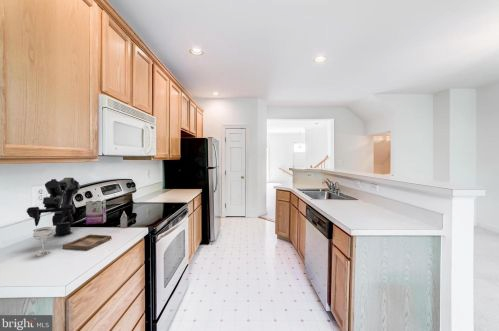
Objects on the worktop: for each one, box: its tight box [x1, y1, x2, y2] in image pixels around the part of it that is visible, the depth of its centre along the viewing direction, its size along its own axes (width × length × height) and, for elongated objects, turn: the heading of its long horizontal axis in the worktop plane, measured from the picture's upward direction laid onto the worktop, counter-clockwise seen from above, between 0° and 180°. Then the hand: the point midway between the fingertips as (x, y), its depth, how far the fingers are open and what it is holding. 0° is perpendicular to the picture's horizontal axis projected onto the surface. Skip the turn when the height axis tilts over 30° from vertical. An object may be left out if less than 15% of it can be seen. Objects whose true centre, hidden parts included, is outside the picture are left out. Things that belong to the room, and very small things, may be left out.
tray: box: [62, 234, 112, 251], centre depth 117 cm, size 16×14×2 cm
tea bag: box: [120, 210, 128, 229], centre depth 148 cm, size 4×7×10 cm, turn 29°
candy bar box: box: [85, 199, 107, 225], centre depth 155 cm, size 11×5×16 cm, turn 102°
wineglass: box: [32, 226, 53, 257], centre depth 104 cm, size 7×7×12 cm
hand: (48, 224), depth 110 cm, fingers open, 9 cm apart
